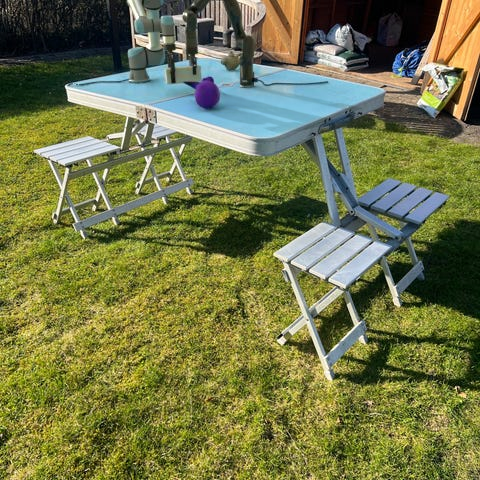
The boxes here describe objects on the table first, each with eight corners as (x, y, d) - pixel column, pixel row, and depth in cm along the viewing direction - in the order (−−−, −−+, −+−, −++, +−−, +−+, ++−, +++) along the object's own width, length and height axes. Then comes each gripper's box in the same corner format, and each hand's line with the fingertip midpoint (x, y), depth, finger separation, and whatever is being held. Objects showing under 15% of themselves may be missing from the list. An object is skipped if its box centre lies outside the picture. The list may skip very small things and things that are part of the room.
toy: (207, 99, 283) (220, 114, 262) (180, 94, 275) (191, 110, 255) (213, 74, 275) (226, 87, 254) (185, 68, 267) (197, 82, 247)
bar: (167, 84, 289) (165, 69, 284) (166, 83, 293) (164, 68, 289) (201, 81, 294) (200, 66, 290) (199, 80, 299) (198, 65, 294)
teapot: (224, 72, 363) (223, 52, 355) (217, 70, 371) (216, 51, 364) (246, 69, 372) (246, 50, 364) (239, 67, 380) (239, 48, 373)
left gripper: (177, 44, 273) (181, 84, 285) (172, 41, 289) (175, 79, 300) (165, 45, 271) (169, 85, 283) (161, 42, 287) (164, 79, 298)
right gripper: (199, 47, 280) (201, 75, 288) (195, 44, 291) (196, 71, 300) (188, 47, 278) (190, 76, 286) (183, 45, 290) (185, 72, 298)
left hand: (172, 82), depth 292 cm, fingers closed on bar, 5 cm apart
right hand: (193, 73), depth 293 cm, fingers closed on bar, 5 cm apart
